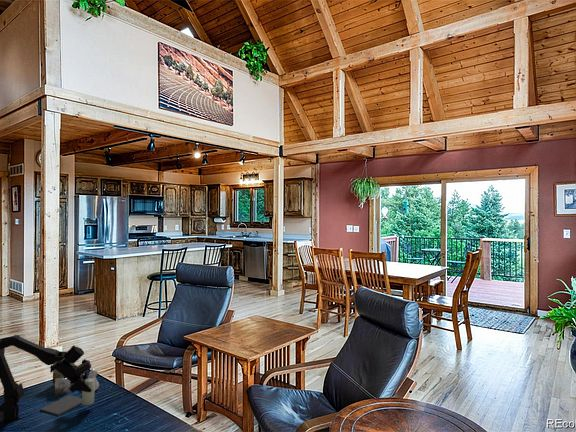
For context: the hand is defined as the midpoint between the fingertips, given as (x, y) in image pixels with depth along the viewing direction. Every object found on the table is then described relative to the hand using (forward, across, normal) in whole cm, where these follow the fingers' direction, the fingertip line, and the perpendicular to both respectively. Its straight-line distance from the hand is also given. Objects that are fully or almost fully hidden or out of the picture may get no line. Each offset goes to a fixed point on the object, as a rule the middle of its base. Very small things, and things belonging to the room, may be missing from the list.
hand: (91, 389), depth 184 cm
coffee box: (-5, +39, +20) cm, 44 cm away
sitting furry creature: (+6, +23, +9) cm, 26 cm away
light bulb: (+4, 0, +6) cm, 7 cm away
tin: (-4, +26, +19) cm, 32 cm away
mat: (-2, +8, +16) cm, 18 cm away
